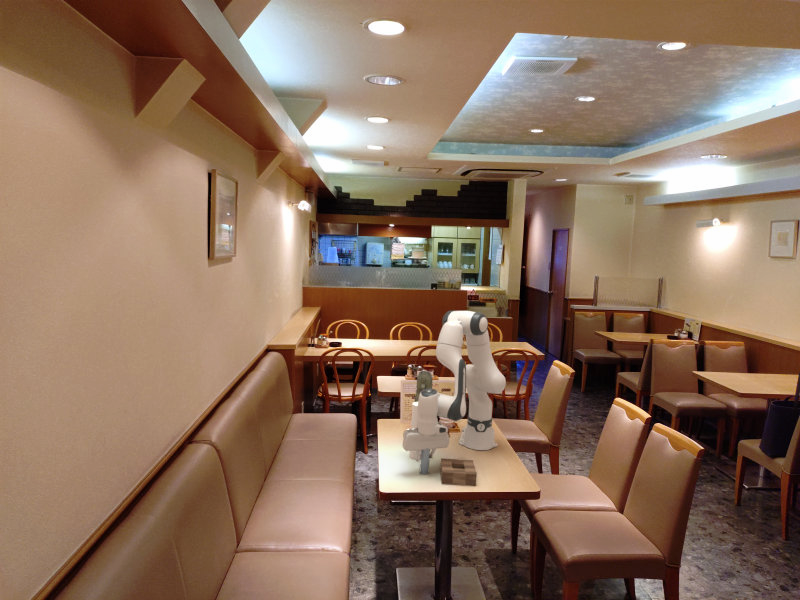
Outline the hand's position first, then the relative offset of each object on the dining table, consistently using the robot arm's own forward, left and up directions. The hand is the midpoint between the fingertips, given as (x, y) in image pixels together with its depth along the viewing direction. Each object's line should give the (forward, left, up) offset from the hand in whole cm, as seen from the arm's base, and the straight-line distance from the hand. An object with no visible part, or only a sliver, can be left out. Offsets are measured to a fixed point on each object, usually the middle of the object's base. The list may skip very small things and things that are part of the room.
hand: (425, 458), depth 232 cm
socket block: (+3, +14, -6) cm, 16 cm away
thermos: (-35, -1, -6) cm, 36 cm away
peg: (0, 0, -6) cm, 6 cm away
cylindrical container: (-16, -3, -6) cm, 17 cm away
